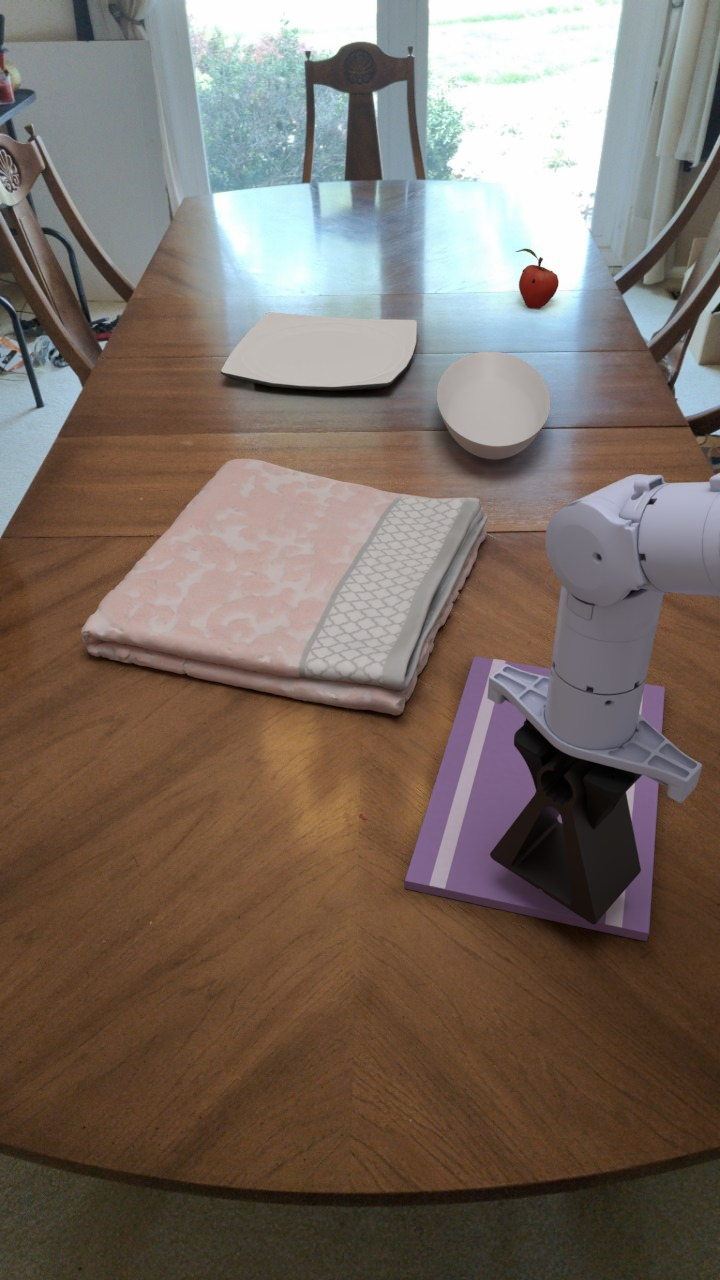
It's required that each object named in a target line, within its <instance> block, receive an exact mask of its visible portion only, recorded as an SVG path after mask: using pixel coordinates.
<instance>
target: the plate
mask: <svg viewBox="0 0 720 1280" xmlns="http://www.w3.org/2000/svg"><path fill="white" fill-rule="evenodd" d="M417 332H418V321H417V320H416V319H391V318H390V319H389V318H384V319H382V318H356V317H339V316H338V317H337V316H319V315H307V314H306V315H305V314H293V313H283V312H273V311H272V312H271V311H268V312H265V313H264V314H263V315H262V317H260V319H259V320H258V321H257V322H256V323H255V324H254V325H253V326H252V327H251V328H250V330H248V332H246V334H245V335H244V336H243V337H242V338H241V340H239V342H238V343H237V344H236V346H235V347H234V348H233V350H232V351H231V352H230V354H229V355H228V357H227V359H226V361H225V363H224V365H223V366H222V368H221V369H220V374H221V375H222V376H225V377H226V378H229V379H232V380H237V381H242V382H247V383H253V384H256V385H262V386H268V387H271V388H273V387H274V388H283V389H295V390H296V389H297V390H307V391H308V390H309V391H310V390H311V391H313V390H314V391H332V392H337V391H355V390H356V391H357V390H371V389H372V390H373V389H374V390H375V389H384V388H387V387H389V386H391V385H392V384H393V383H394V382H395V381H396V380H397V379H398V377H400V376H401V375H402V374H403V373H404V371H406V370H407V368H408V366H409V364H410V362H411V360H412V359H413V358H414V353H415V351H416V347H417V337H418V336H417V335H418V333H417Z"/></svg>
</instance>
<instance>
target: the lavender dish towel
mask: <svg viewBox="0 0 720 1280" xmlns="http://www.w3.org/2000/svg"><path fill="white" fill-rule="evenodd" d="M505 664H508V665H510V666H512V667H514V668H517V669H520V670H522V671H526V672H529V673H533V674H537V675H541V676H545V677H550V669H551V667H550V668H549V667H545V666H537V665H532V664H531V665H530V664H525V663H518V662H511V661H507V660H504V659H497V658H488V657H481V656H476V655H475V656H473V659H472V662H471V665H470V669H469V672H468V674H467V677H466V681H465V684H464V688H463V691H462V695H461V697H460V701H459V704H458V707H457V710H456V714H455V716H454V721H453V722H452V727H451V730H450V733H449V736H448V740H447V742H446V746H445V749H444V752H443V756H442V759H441V761H440V766H439V768H438V772H437V775H436V778H435V782H434V784H433V787H432V791H431V795H430V798H429V801H428V804H427V807H426V809H425V813H424V817H423V820H422V824H421V827H420V829H419V833H418V836H417V839H416V844H415V846H414V850H413V853H412V855H411V859H410V863H409V866H408V869H407V872H406V875H405V879H404V889H406V890H410V891H414V892H419V893H422V894H423V893H424V894H428V895H432V896H437V897H442V898H446V899H451V900H456V901H461V902H464V903H465V902H466V903H468V904H474V905H478V906H484V907H487V908H492V909H497V910H501V911H506V912H510V913H515V914H519V915H524V916H527V917H528V916H529V917H533V918H537V919H541V920H542V919H543V920H547V921H551V922H556V923H561V924H565V925H569V926H574V927H578V928H583V929H587V930H592V931H596V932H601V933H605V934H609V935H610V934H611V935H615V936H620V937H623V938H629V939H633V940H638V941H642V942H648V939H649V935H650V925H651V908H652V895H653V893H652V892H653V881H654V880H653V877H654V863H655V848H656V847H655V845H656V834H657V833H656V832H657V817H658V816H657V815H658V801H659V800H658V799H659V787H660V786H659V785H660V783H658V782H656V781H654V780H652V779H651V778H649V777H647V776H645V775H642V776H641V777H640V778H639V779H638V780H637V781H636V782H635V783H634V784H633V785H632V786H631V787H630V788H629V789H628V790H627V791H626V795H627V800H628V805H629V810H630V816H631V821H632V826H633V831H634V836H635V841H636V846H637V852H638V857H639V862H640V867H641V872H640V873H639V874H638V875H637V877H636V878H635V879H634V880H633V881H632V882H631V884H630V885H629V886H628V887H627V888H626V889H625V891H624V892H623V893H622V894H621V895H620V896H619V898H618V899H617V900H616V901H615V902H614V903H613V904H612V906H611V907H610V908H609V909H608V910H607V911H606V913H605V914H604V915H603V916H602V917H601V918H600V920H599V921H598V922H597V923H596V924H591V923H590V922H588V921H587V920H585V919H583V918H582V917H580V916H579V915H577V914H576V913H574V912H573V911H571V910H570V909H568V908H567V907H565V906H564V905H562V904H560V903H559V902H557V901H556V900H554V899H553V898H551V897H550V896H548V895H547V894H545V893H544V892H543V890H542V889H540V888H539V889H537V888H536V887H534V886H533V885H531V884H530V883H528V882H527V881H525V880H524V879H522V878H520V877H519V876H517V875H516V874H514V873H513V872H511V871H510V870H508V869H507V868H505V867H504V866H502V865H501V864H499V863H497V862H496V861H494V860H493V859H492V858H491V856H490V853H491V852H492V850H493V849H494V848H495V846H496V845H497V844H498V842H499V841H500V840H501V838H502V837H503V836H504V834H505V833H506V832H507V830H508V829H509V828H510V827H511V825H512V824H513V823H514V821H515V820H516V819H517V817H518V816H519V815H520V813H521V812H522V811H523V809H524V808H525V807H526V805H527V804H528V803H529V802H530V800H531V799H532V798H533V796H534V795H535V793H536V788H535V785H534V781H533V778H532V775H531V773H530V770H529V768H528V766H527V764H526V762H525V760H524V758H523V757H522V755H521V754H520V752H519V751H518V750H517V748H516V747H515V746H514V735H515V733H516V731H517V730H519V729H520V728H521V727H522V726H523V725H524V721H526V717H525V716H524V715H523V714H522V713H521V712H520V711H519V710H518V709H517V708H516V707H515V706H514V705H513V704H511V703H509V702H508V701H506V700H505V701H504V702H503V703H501V704H497V703H495V702H493V701H491V700H490V699H488V698H487V697H488V685H489V677H490V676H491V675H493V674H494V673H495V672H496V671H498V670H499V669H500V668H501V667H503V666H504V665H505ZM665 693H666V687H665V686H661V685H655V684H650V683H645V686H644V691H643V696H642V701H641V705H640V710H639V714H640V715H641V716H642V717H643V718H645V719H646V720H647V721H648V722H649V723H650V724H651V725H652V726H653V727H655V728H656V729H657V730H658V731H659V732H660V733H661V734H662V735H663V723H664V709H665V708H664V707H665ZM558 821H559V822H560V823H562V818H561V815H559V816H558Z"/></svg>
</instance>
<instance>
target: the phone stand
mask: <svg viewBox="0 0 720 1280" xmlns="http://www.w3.org/2000/svg"><path fill="white" fill-rule="evenodd" d="M597 764H598V763H595V762H591V761H587V760H584V759H580V758H576V757H573V756H570V755H568V754H566V753H564V752H562V751H559V752H558V753H557V754H556V755H555V756H554V757H553V758H552V759H551V760H549V761H548V762H547V763H546V764H545V765H544V766H543V767H542V768H541V769H540V770H539V771H538V774H537V790H536V793H535V795H534V796H533V798H532V799H531V800H530V802H529V803H528V804H527V805H526V807H525V808H524V809H523V811H522V812H521V813H520V815H519V816H518V817H517V819H516V820H515V821H514V823H513V824H512V825H511V827H510V828H509V829H508V830H507V832H506V833H505V834H504V836H503V837H502V838H501V840H500V841H499V842H498V844H497V845H496V846H495V848H494V849H493V850H492V852H491V853H490V856H491V858H492V859H493V860H494V861H496V862H497V863H499V864H501V865H502V866H504V867H505V868H507V869H508V870H510V871H511V872H513V873H514V874H516V875H517V876H519V877H520V878H522V879H524V880H525V881H527V882H528V883H530V884H531V885H533V886H534V887H536V888H537V889H539V888H540V889H542V890H543V892H544V893H545V894H547V895H548V896H550V897H551V898H553V899H554V900H556V901H557V902H559V903H560V904H562V905H564V906H565V907H567V908H568V909H570V910H571V911H573V912H574V913H576V914H577V915H579V916H580V917H582V918H583V919H585V920H587V921H588V922H590V923H591V924H596V923H597V922H598V921H599V920H600V918H601V917H602V916H603V915H604V914H605V913H606V911H607V910H608V909H609V908H610V907H611V906H612V904H613V903H614V902H615V901H616V900H617V899H618V898H619V896H620V895H621V894H622V893H623V892H624V891H625V889H626V888H627V887H628V886H629V885H630V884H631V882H632V881H633V880H634V879H635V878H636V877H637V875H638V874H639V873H640V872H641V867H640V862H639V857H638V852H637V846H636V841H635V836H634V831H633V826H632V821H631V816H630V810H629V805H628V800H627V795H626V792H625V794H623V796H622V797H621V798H620V800H619V801H618V803H617V805H616V806H615V808H614V810H613V811H612V812H611V813H610V814H609V815H608V816H607V817H606V818H605V819H604V820H603V821H602V822H601V823H600V824H599V825H598V826H597V828H596V829H595V830H594V829H592V826H591V823H590V820H589V817H588V814H587V811H586V807H587V799H586V790H585V786H584V783H583V778H584V777H585V776H586V775H587V774H588V773H589V772H590V771H591V770H592V769H593V768H594V767H595V766H596V765H597ZM559 815H561V818H562V823H560V822H559V821H558V816H559Z"/></svg>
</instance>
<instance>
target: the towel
mask: <svg viewBox="0 0 720 1280" xmlns="http://www.w3.org/2000/svg"><path fill="white" fill-rule="evenodd" d="M214 474H215V475H214V476H213V477H212V478H211V479H209V480H208V481H207V483H205V485H204V486H203V487H202V488H201V489H200V490H199V492H198V494H195V496H194V497H192V499H191V500H190V502H188V504H187V505H186V506H185V508H184V509H183V510H182V511H181V512H179V515H178V516H177V517H176V518H175V520H174V521H173V523H172V524H171V525H170V527H168V529H167V530H165V532H163V533H162V535H160V537H159V538H158V539H157V540H155V542H154V543H153V544H152V546H151V547H149V548H148V550H147V551H146V552H145V553H144V555H142V557H141V558H140V559H139V560H137V561H135V564H134V566H133V567H132V568H131V570H130V571H128V573H127V574H126V575H125V576H124V578H123V580H121V581H120V582H119V583H118V584H117V585H116V586H115V587H114V589H111V590H110V591H108V592H107V594H106V595H105V596H104V597H103V598H102V599H101V601H100V602H99V603H98V604H97V605H98V606H97V609H96V610H95V612H94V613H92V614H90V615H89V617H88V618H87V619H86V621H85V623H84V625H83V626H82V627H81V631H80V634H81V637H82V638H81V641H82V644H83V647H84V648H85V649H86V650H87V653H88V654H90V655H91V656H94V657H102V658H106V659H109V660H111V661H116V662H117V661H118V662H122V663H125V664H135V665H138V666H141V667H148V668H153V669H157V670H160V671H164V672H165V671H167V672H172V673H176V674H179V675H187V676H189V677H192V678H195V679H200V680H203V681H210V682H217V683H221V684H224V685H230V686H233V687H240V688H243V689H251V690H254V691H258V692H262V693H267V694H272V695H278V696H281V697H282V696H283V697H286V698H292V699H294V700H301V701H303V702H309V703H310V702H311V703H317V704H324V705H328V706H333V707H338V708H339V707H340V708H344V709H352V710H366V711H367V710H369V711H372V712H377V713H383V714H389V715H392V716H400V715H402V713H403V712H404V710H405V707H406V702H408V701H409V700H410V698H411V697H412V695H413V693H414V691H415V688H416V685H417V682H418V676H419V675H421V673H422V672H423V670H424V668H425V666H426V665H427V663H428V661H429V657H430V654H431V653H432V652H433V650H434V646H435V643H434V641H435V638H436V635H437V633H438V630H439V629H440V628H441V627H442V626H445V623H446V622H447V619H448V617H449V616H450V614H451V611H452V610H453V607H454V602H455V601H456V599H457V598H458V596H459V595H460V592H459V591H461V590H462V589H463V587H464V585H465V582H466V578H467V577H469V576H470V573H471V571H472V569H473V565H474V564H475V562H476V561H477V557H478V552H479V548H480V545H481V543H484V540H485V539H486V537H487V535H488V532H487V527H488V526H487V522H488V519H489V516H488V515H486V514H484V507H483V506H481V504H480V503H481V499H480V498H477V497H471V496H470V497H442V498H438V497H437V498H436V497H428V496H422V495H415V494H407V493H400V492H399V493H397V492H393V491H392V492H391V491H386V490H381V489H378V488H375V487H372V486H368V485H364V484H359V483H354V482H348V481H342V480H338V479H333V478H329V477H325V476H321V475H317V474H312V473H309V472H305V471H299V470H296V469H291V468H288V467H285V466H281V465H278V464H274V463H272V462H268V461H266V460H265V461H264V460H262V459H261V460H259V459H255V458H254V459H253V458H234V459H231V460H228V461H226V462H225V463H224V464H223V465H221V467H220V468H218V470H217V471H215V472H214Z"/></svg>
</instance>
